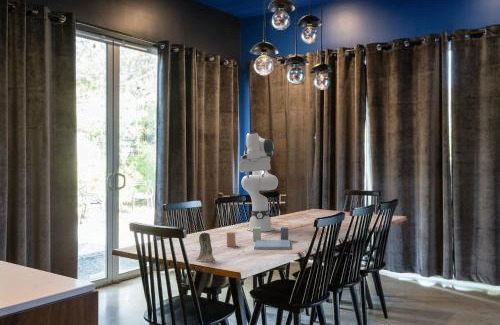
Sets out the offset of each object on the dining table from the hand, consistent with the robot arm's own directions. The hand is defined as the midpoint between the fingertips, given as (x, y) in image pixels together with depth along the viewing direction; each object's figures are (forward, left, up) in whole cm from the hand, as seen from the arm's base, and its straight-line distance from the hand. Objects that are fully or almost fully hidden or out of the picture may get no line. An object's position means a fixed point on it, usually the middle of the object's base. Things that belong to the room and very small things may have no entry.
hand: (255, 177), depth 281 cm
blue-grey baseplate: (+25, +11, -38) cm, 47 cm away
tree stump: (+60, -22, -39) cm, 74 cm away
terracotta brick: (+26, -13, -38) cm, 48 cm away
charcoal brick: (+10, +18, -38) cm, 43 cm away
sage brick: (+10, +1, -38) cm, 39 cm away
